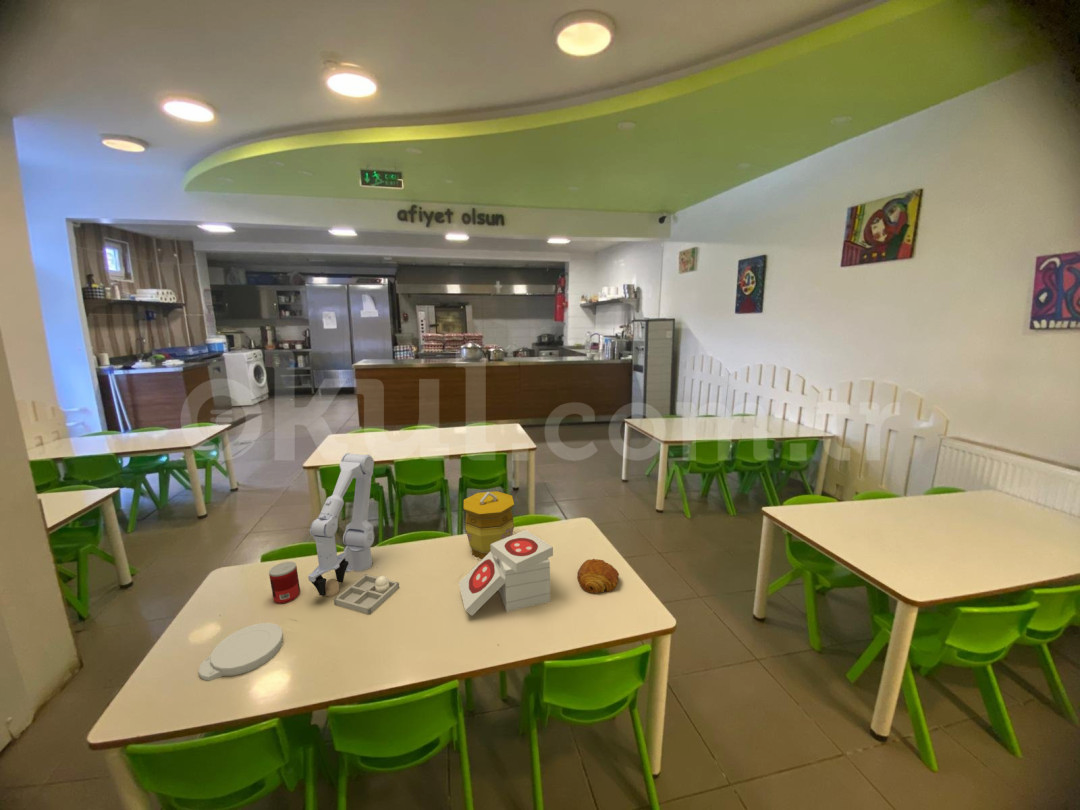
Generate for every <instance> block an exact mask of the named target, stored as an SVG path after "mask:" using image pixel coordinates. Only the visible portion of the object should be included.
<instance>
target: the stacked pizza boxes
mask: <svg viewBox="0 0 1080 810" xmlns="http://www.w3.org/2000/svg"><path fill="white" fill-rule="evenodd" d="M553 556H554V547H553V546H552V545H550V544H549V543H547V542H546V541H544V540H543V539H542V538H540V537H538V536H536V535H535V534H533V533H531V532H530V531H528V530H527V529H524V530H522V531H520V532H517V533H514V534H512V536H509V537H507V538H504V539H502V540H499V541H497V542H495V543H492V544H491V551H490V552H489V553H488V554H487V555H486V556H485V557H484V558H483V559H480V561H479V562H478V563H477V564H476V565H475V566H474V567H473V568H472V569H471V570H470V571H469V572H468V573H467V574H466V575H465V576H464V577H463V578H462V579H461V580H460V581H458V584H459V588H460V593H461V598H462V602H463V603H462V604H463V607H464V611H466V612H467V613H468V614H469V616H474V615H475V614H476V612H478V611H479V609H480V608H482V606H483V605H485V604H486V602H488V601H489V599H491V597H493V596H494V594H495V593H496V592H497V591H498V592H499V596H500V598H501V599H502V600H501V601H502V603H503V605H504V608H505V612H506V613H508V612H512V611H517V610H521V609H526V608H530V607H534V606H538V605H541V604H542V605H543V604H548V603H550V602H551V566H550V565H551V561H550V559H549V558H551V557H553Z"/></svg>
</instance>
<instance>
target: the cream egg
mask: <svg viewBox="0 0 1080 810" xmlns="http://www.w3.org/2000/svg"><path fill="white" fill-rule="evenodd" d="M377 577H378V578H377V579H376V581H375V589H376V592H378V593H382V594H384V593H385V592H386V591H387V590H388V589H390V588H389V580H390V579H389V578H388V577H387V576H386V575H379V576H377Z"/></svg>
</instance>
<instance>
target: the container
mask: <svg viewBox="0 0 1080 810" xmlns="http://www.w3.org/2000/svg"><path fill="white" fill-rule="evenodd" d="M514 506H515V503H514V499H513V495H510V494H508V493H504V492H501V491H484V492H477V493H474V494H473V495H471V496H468V497H467V498H464V499H463V510H464V511H465V534H466V536H467V541H468V544H469V546H470V549H471V555H472V556H473V557H476V558H478V559H480V560H482V559H483V558H484V557H485V556H486V555H487V554H488V553H489V552H490V551H491V544H492V543H495V542H497V541H499V540H502V539H504V538H507V537H509V536H512V535H514V534H513V533H514V528H515V523H514V516H513V512H512V509H513V507H514Z"/></svg>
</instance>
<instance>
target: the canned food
mask: <svg viewBox="0 0 1080 810" xmlns="http://www.w3.org/2000/svg"><path fill="white" fill-rule="evenodd" d="M268 575H269V581H270V582H269V583H270V588H271V592H272V593H271V594H272V599H273V601H274V602H275V604H278V605H279V604H287V603H289V602H292V601H294V600H296V599H297V598H298V597H299V596H300V594H301V588H300V581H299V572H298V567H297V563H296V562H294V561H284V562H281V563H278V564H276V565H273V566H272V567H271V568H270V569H269V571H268Z"/></svg>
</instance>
